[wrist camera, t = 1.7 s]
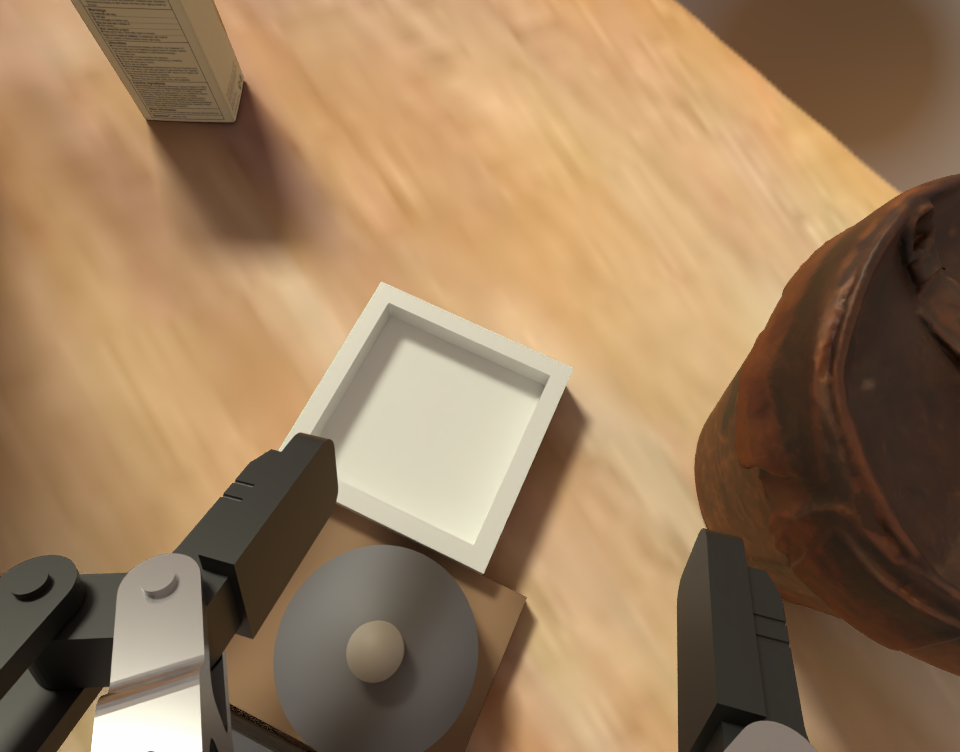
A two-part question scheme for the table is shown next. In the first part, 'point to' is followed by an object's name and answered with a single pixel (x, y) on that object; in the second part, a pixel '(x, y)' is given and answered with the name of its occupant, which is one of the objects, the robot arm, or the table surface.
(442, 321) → the tray
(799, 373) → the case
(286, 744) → the square can holder
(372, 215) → the table surface
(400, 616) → the pulley board
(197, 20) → the skincare box
